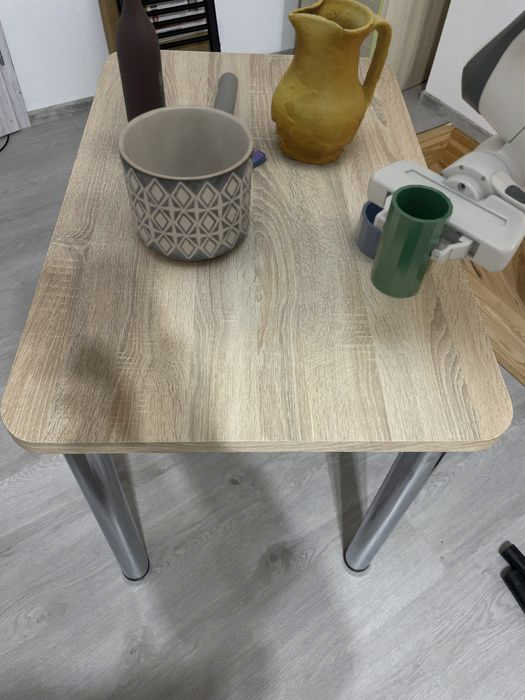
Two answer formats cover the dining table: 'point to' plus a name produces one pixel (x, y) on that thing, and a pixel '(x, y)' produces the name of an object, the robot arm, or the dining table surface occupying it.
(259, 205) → the dining table surface
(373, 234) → the wide cup
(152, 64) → the wine bottle
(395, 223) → the slim cup
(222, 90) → the gray half cylinder
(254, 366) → the dining table surface
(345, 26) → the pitcher
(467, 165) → the robot arm
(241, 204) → the planter
